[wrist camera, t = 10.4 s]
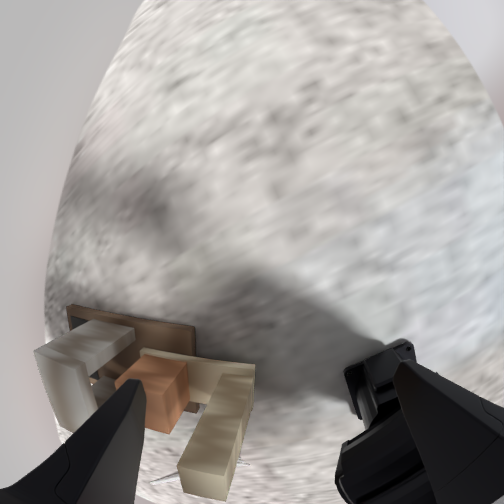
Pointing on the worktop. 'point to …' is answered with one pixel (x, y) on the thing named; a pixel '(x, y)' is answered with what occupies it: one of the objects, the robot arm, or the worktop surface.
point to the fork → (176, 477)
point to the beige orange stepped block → (212, 420)
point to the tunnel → (101, 359)
